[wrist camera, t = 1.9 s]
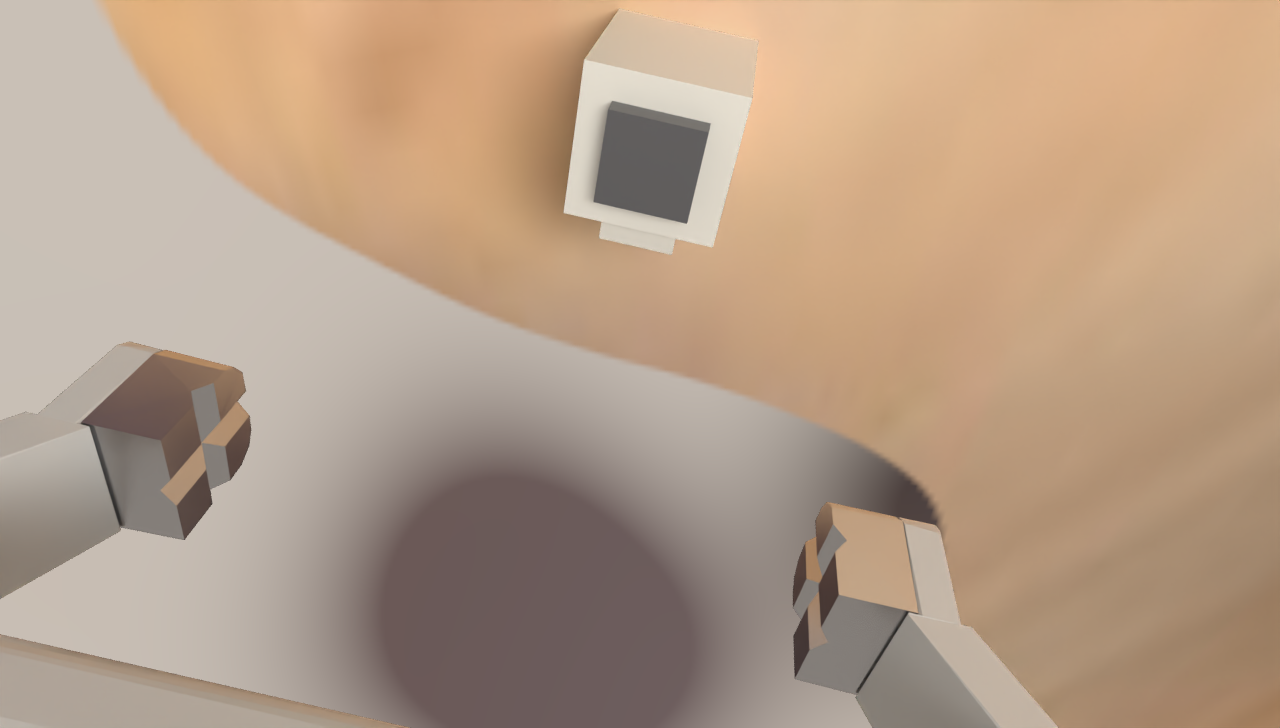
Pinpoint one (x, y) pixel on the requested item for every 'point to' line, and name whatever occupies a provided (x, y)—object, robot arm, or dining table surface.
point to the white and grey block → (659, 130)
